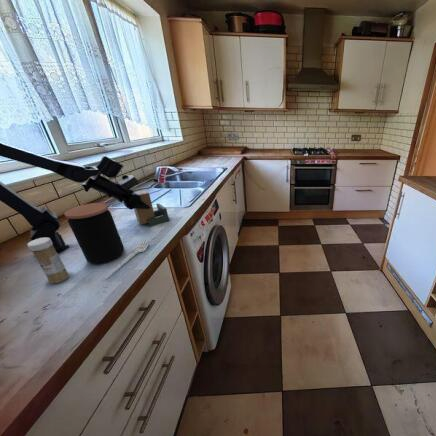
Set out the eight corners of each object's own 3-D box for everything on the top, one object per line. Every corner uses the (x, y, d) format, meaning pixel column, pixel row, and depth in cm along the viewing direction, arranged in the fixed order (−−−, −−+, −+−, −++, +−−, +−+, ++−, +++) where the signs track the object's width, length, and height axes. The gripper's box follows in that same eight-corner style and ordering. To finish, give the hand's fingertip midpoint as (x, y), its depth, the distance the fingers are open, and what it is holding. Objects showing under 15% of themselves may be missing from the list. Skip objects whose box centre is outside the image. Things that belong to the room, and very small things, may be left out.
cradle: (150, 226, 99) (146, 213, 97) (143, 220, 105) (139, 208, 102) (169, 220, 104) (166, 208, 102) (161, 214, 110) (158, 203, 107)
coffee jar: (132, 250, 82) (115, 204, 74) (103, 268, 73) (81, 218, 65) (110, 245, 85) (91, 201, 77) (79, 262, 76) (54, 213, 68)
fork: (101, 279, 68) (99, 274, 68) (143, 243, 86) (142, 239, 85) (111, 279, 68) (109, 274, 67) (152, 244, 86) (150, 239, 85)
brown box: (140, 224, 98) (132, 195, 93) (137, 221, 102) (129, 193, 97) (156, 220, 102) (149, 192, 97) (152, 217, 106) (145, 190, 101)
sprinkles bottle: (45, 284, 66) (21, 245, 61) (59, 273, 71) (38, 236, 65) (60, 284, 66) (38, 245, 61) (74, 274, 71) (54, 236, 65)
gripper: (127, 174, 83) (165, 195, 95) (114, 166, 95) (150, 186, 107) (108, 199, 82) (150, 218, 94) (98, 188, 93) (136, 206, 105)
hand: (147, 205), depth 100 cm, fingers closed on brown box, 7 cm apart
